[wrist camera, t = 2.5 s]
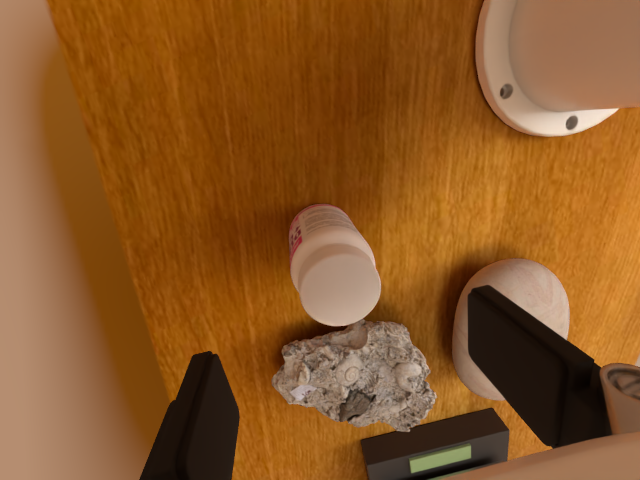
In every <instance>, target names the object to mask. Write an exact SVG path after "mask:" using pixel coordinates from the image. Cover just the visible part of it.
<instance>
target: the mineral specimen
mask: <svg viewBox="0 0 640 480" xmlns="http://www.w3.org/2000/svg"><path fill="white" fill-rule="evenodd" d="M282 355H283V358H284V359H285V363H284V365H282V366H281V367H280V369H279V371H278V372H277V374H275V375H274V376H273V378H272V386H273V387H274V388H275V389H276V390H277V391H279V393H281V395H282V396H283V398H284V399H286V400H287V403H289V404H299V405H301V406H302V405H303V406H305V407H306V408H307V407H316V409H317V410H318V411H320V412H321V413H322V414H323V415H326V416H328V417H329V418H331V419H332V420H334V421H337V422H338V421H340V422H343V421H345V420H347V421H348V423H349V424H353V425H354V426H356V427H361V426H366V425H369V424H371V423H375V422H377V421H378V420H380V421H381V422H382V423H383V422H385V423H387V424H389V425H391V426H392V427H393V428H394V429H395V430H397V431H402V432H409V431H410V429H409V428H410V427H413V426H415V425H420V420H421V419H424V418H426V416H427V413H428V411H430V410H431V409H432V408H433V404H434V403H435V399H436V398H437V396H436V393H435V392H434V391H433V390H431V389H430V388H429V386H430V385H429V383H427V382H425V381H424V380H425V379H426V377H427V375H428V374H430V372H431V371H430V369H429V367H428V366H427V365H426V359H425V357H424V355H423V354H422V353H421V351H420V350H418V348H416V347H415V346H414V345H413V344H412V341H411V340H410V337H409V332H407V327H404V326H403V325H402V323H401V324H397V323H394V322H390V321H388V322H384V321H382V322H380V321H377V322H376V323H372V321H364V319H361V320H359V321H357V322H355V323H352V324H349V325H348V327H347V328H346V329H345V330H344V331H338V332H335V331H334V332H330V333H329V334H325V335H323V336H316V337H314V338H313V339H311V340H309V339H308V340H306V339H303V340H302V341H300V342H299V341H298V340H295V341H294V342H290V343H289V344H288V345H285V346H283V349H282Z"/></svg>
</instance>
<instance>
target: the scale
mask: <svg viewBox="0 0 640 480" xmlns="http://www.w3.org/2000/svg"><path fill="white" fill-rule="evenodd" d="M409 429H410V431H409V432H402V431H397V432H393V433H389V434H385V435H381V436H377V437H373V438H368V439H364V440H361V445H362V450H363V456H364V461H365V466H366V471H367V476H368V480H427V479H431V478H435V477H439V476H443V475H447V474H451V473H455V472H458V471H462V470H466V469H470V468H474V467H478V466H482V465H486V464H490V463H494V462H498V461H502V460H503V461H504V462H505V461H507V457H508V443H509V429H508V428H507V426H506V425H505V424H504V422H503V421H502V420H501V419H500V417H499V416H498V415H497V413H496V412H495V411H494V409H493V408H490V409H486V410H482V411H478V412H474V413H470V414H466V415H462V416H458V417H454V418H450V419H446V420H442V421H437V422H433V423H429V424H425V425H421V426H417V427H413V428H409Z"/></svg>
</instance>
